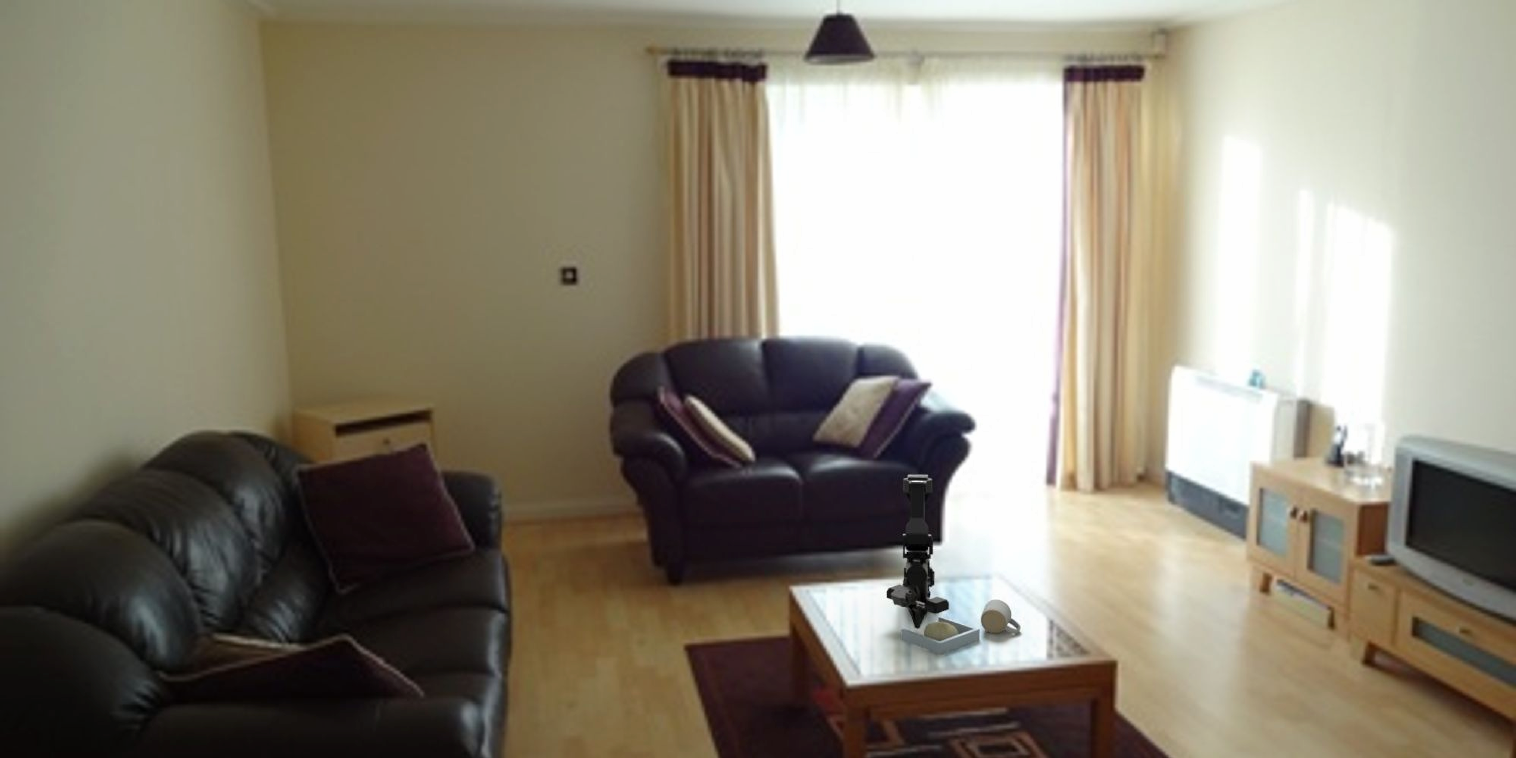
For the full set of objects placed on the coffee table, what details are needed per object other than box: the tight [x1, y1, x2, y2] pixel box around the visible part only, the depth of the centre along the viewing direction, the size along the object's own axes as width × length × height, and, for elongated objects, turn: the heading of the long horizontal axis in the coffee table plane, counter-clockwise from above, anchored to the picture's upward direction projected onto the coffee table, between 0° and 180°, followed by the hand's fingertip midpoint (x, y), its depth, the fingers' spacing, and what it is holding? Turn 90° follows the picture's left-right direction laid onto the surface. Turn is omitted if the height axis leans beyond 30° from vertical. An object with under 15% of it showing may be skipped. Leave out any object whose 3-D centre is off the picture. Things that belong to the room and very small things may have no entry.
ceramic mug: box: [980, 599, 1021, 635], centre depth 295 cm, size 11×8×8 cm
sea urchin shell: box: [923, 621, 959, 641], centre depth 289 cm, size 9×8×8 cm
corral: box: [900, 615, 981, 655], centre depth 290 cm, size 14×16×3 cm
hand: (917, 628), depth 297 cm, fingers closed
